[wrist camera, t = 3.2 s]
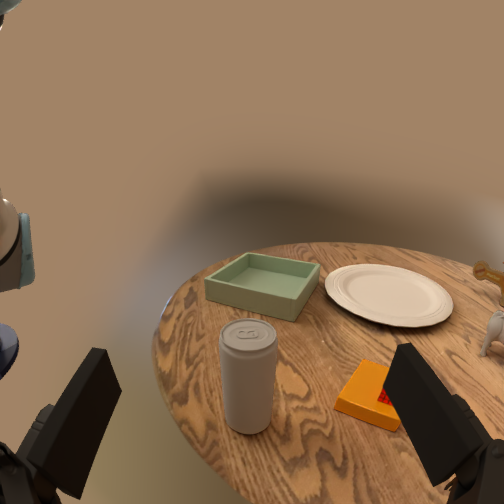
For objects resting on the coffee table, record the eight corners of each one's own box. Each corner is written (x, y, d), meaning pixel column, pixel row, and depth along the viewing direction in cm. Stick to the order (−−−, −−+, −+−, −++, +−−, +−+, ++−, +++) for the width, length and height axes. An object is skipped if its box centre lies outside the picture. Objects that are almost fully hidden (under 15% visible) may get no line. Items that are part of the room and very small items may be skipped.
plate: (368, 262, 71) (369, 256, 71) (462, 297, 49) (464, 289, 48) (294, 292, 55) (294, 283, 54) (424, 357, 32) (428, 347, 32)
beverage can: (273, 435, 23) (283, 349, 19) (225, 437, 23) (217, 352, 19) (268, 402, 28) (274, 316, 24) (225, 404, 27) (219, 317, 23)
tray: (205, 299, 51) (204, 278, 50) (247, 268, 66) (247, 251, 65) (293, 322, 44) (296, 299, 43) (318, 282, 59) (320, 264, 58)
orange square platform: (333, 408, 26) (341, 384, 25) (359, 370, 32) (366, 346, 31) (394, 432, 21) (409, 409, 20) (411, 388, 27) (423, 364, 26)
